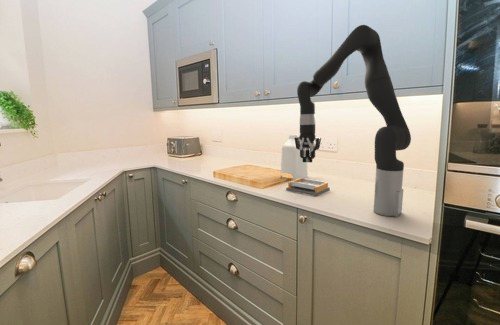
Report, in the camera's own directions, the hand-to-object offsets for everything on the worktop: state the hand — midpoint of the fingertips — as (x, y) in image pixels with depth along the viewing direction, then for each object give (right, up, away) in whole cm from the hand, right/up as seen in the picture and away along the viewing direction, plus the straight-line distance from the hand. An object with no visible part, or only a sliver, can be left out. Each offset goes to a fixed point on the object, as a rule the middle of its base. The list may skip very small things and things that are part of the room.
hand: (307, 158), depth 136 cm
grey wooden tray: (+1, -14, +3) cm, 14 cm away
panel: (+1, -16, +3) cm, 17 cm away
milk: (-1, -11, +33) cm, 35 cm away
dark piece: (0, -2, +1) cm, 2 cm away
